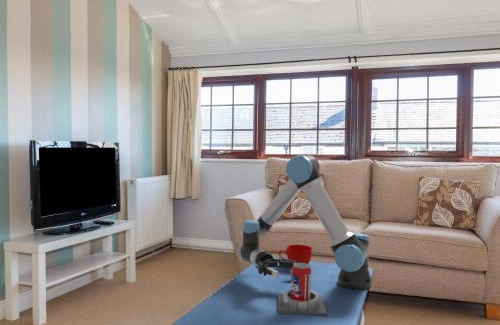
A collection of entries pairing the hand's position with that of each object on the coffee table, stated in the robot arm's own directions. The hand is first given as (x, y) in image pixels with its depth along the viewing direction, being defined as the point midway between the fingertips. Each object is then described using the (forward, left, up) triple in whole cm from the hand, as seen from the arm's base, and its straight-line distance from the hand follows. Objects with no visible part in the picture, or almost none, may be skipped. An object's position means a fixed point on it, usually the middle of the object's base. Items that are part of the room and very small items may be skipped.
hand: (291, 272), depth 170 cm
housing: (-4, +5, -11) cm, 13 cm away
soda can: (-4, +6, -10) cm, 12 cm away
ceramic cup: (-4, -45, -11) cm, 46 cm away
